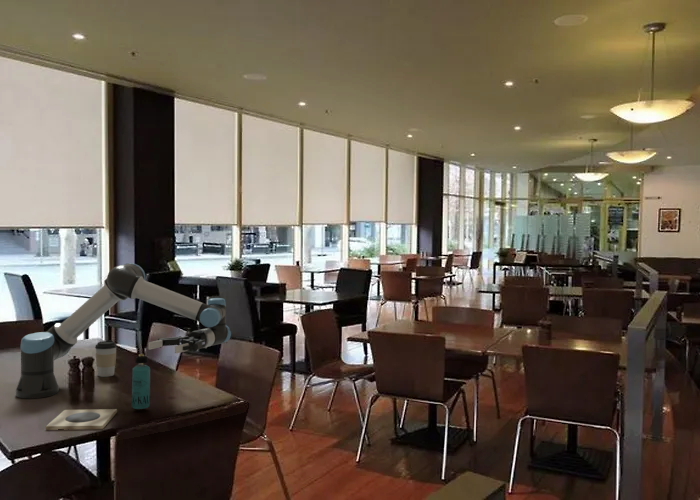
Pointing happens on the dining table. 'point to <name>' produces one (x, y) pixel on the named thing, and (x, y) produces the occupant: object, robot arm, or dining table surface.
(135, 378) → the beverage bottle
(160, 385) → the dining table surface
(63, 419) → the birch board
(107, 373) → the coffee cup
